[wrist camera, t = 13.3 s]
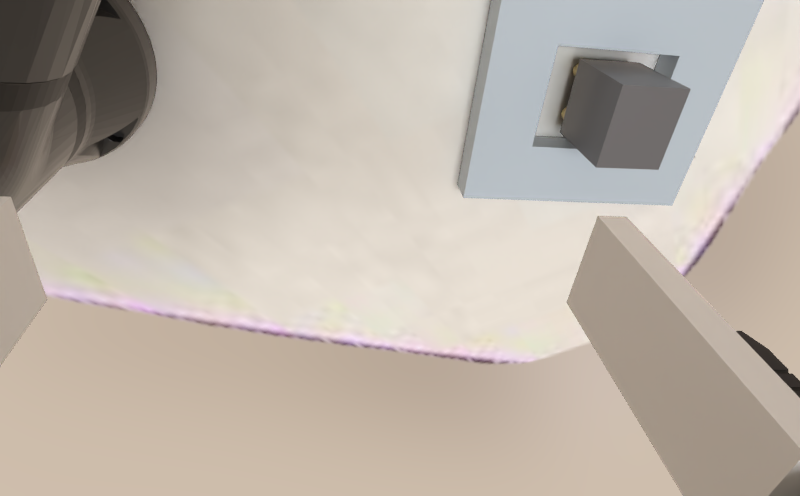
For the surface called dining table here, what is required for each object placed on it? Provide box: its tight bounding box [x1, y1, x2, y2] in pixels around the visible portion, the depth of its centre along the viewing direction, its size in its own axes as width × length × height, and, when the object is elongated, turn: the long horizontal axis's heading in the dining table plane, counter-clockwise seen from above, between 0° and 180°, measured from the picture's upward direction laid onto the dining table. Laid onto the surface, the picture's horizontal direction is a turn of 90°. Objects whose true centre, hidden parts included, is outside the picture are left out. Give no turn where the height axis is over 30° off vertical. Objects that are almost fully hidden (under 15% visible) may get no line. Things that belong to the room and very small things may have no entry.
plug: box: [560, 59, 691, 170], centre depth 40 cm, size 5×6×8 cm
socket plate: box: [457, 0, 764, 206], centre depth 42 cm, size 20×18×2 cm
